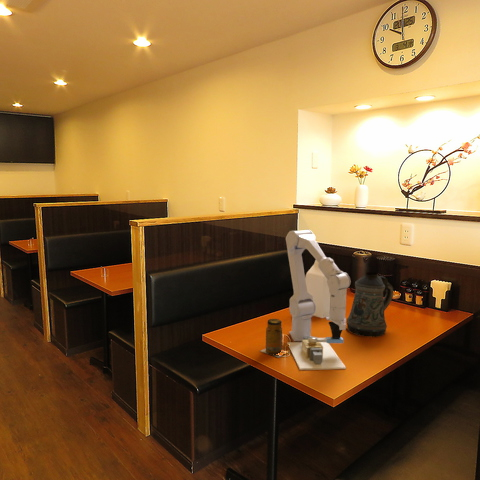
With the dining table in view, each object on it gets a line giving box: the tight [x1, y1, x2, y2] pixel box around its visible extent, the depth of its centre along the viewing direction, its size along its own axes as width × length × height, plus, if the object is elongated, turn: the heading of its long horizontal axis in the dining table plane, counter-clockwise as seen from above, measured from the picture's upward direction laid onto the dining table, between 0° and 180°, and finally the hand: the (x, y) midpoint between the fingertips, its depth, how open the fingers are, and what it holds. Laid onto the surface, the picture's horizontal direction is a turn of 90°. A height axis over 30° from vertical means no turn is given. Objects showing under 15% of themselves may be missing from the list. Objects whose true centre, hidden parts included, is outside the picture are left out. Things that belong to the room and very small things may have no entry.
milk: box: [305, 259, 330, 319], centre depth 197 cm, size 12×12×26 cm
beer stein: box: [346, 272, 394, 338], centre depth 176 cm, size 16×19×25 cm
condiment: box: [260, 318, 283, 358], centre depth 153 cm, size 7×8×12 cm
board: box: [287, 341, 347, 371], centre depth 151 cm, size 22×16×1 cm
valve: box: [301, 336, 323, 365], centre depth 150 cm, size 17×6×5 cm, turn 5°
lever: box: [308, 335, 344, 344], centre depth 150 cm, size 13×3×1 cm, turn 90°
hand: (335, 341), depth 151 cm, fingers closed, pressing on lever
